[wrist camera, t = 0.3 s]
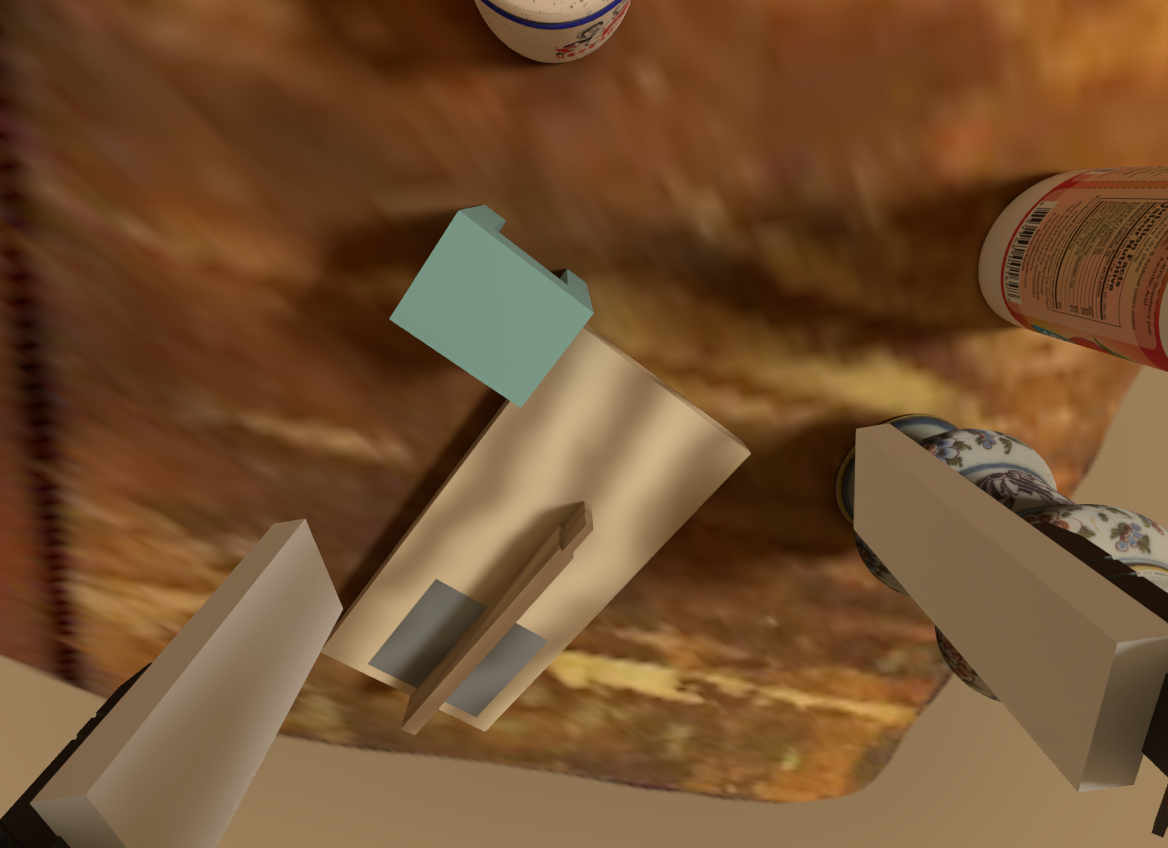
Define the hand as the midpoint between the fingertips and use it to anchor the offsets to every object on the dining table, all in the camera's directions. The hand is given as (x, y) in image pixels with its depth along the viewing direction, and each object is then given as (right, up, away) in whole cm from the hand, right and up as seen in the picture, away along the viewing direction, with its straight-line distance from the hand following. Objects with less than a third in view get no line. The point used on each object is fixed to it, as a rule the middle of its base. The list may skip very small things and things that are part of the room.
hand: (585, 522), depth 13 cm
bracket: (-5, +11, +21) cm, 24 cm away
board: (-5, -7, +29) cm, 30 cm away
